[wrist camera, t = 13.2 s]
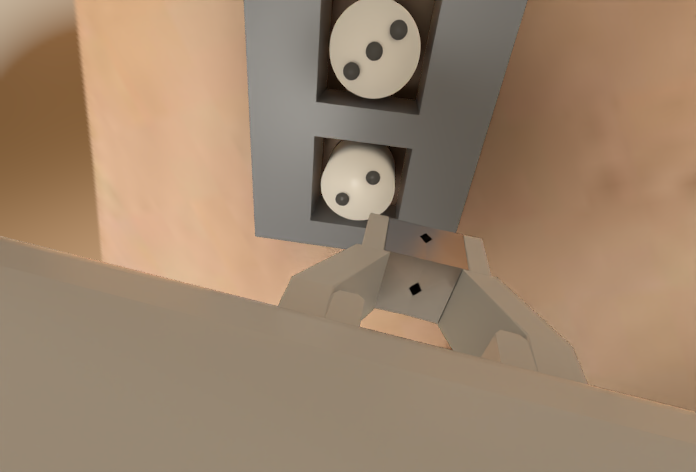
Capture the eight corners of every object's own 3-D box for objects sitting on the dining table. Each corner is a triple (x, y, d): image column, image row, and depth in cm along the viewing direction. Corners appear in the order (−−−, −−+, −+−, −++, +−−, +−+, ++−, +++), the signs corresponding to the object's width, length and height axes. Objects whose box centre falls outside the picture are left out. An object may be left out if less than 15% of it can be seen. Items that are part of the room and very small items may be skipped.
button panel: (585, -282, 15) (639, -361, 12) (440, 234, 30) (446, 263, 26) (260, -309, 16) (224, -393, 13) (270, 210, 30) (255, 236, 27)
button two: (400, 139, 25) (401, 158, 22) (389, 201, 28) (388, 226, 25) (331, 130, 25) (322, 148, 22) (326, 192, 28) (318, 216, 25)
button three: (424, 2, 21) (429, 2, 18) (408, 91, 23) (411, 104, 20) (341, -7, 21) (332, -9, 18) (335, 81, 24) (325, 93, 21)
